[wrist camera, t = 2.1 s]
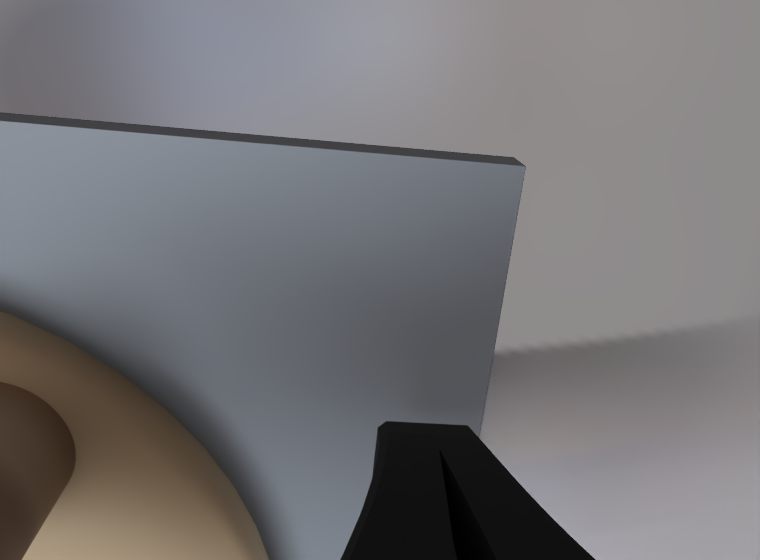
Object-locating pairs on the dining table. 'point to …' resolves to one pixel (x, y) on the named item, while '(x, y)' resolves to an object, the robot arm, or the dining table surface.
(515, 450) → the dining table surface
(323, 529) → the grey flat square board
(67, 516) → the dial
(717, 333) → the dining table surface
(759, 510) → the dining table surface
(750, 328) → the dining table surface
